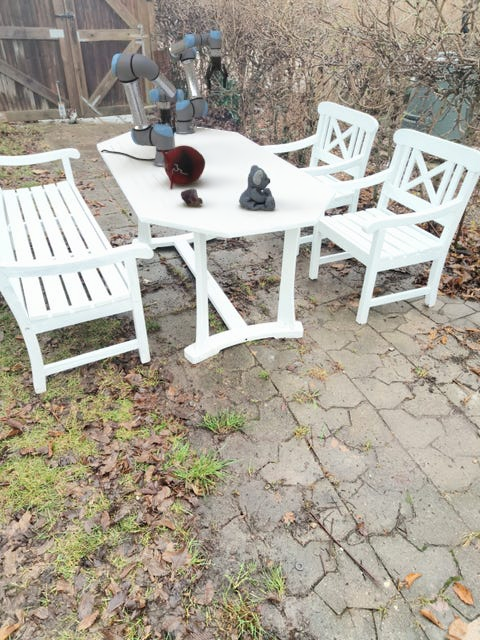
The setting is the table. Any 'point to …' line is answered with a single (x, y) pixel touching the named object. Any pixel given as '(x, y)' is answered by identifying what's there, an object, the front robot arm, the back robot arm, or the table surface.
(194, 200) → the rock
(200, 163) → the red pot
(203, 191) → the table surface
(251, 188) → the koala plush
